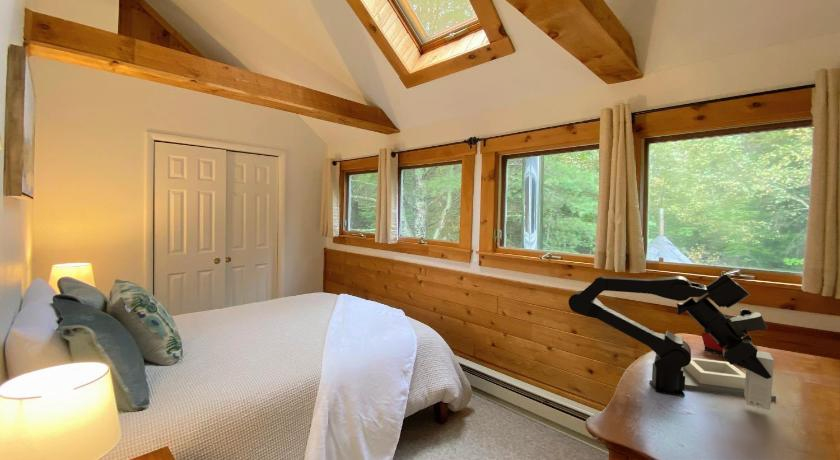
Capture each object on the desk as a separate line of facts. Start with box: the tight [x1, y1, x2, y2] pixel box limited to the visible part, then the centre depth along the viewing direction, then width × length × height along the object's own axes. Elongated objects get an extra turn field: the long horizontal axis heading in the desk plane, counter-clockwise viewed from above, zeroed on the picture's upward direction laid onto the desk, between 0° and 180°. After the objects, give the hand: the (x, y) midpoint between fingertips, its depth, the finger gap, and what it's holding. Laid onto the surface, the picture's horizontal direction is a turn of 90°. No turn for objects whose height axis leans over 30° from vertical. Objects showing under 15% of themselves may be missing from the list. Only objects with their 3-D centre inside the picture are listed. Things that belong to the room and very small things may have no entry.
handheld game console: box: [701, 331, 727, 356], centre depth 124 cm, size 12×11×7 cm
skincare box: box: [744, 350, 775, 411], centre depth 88 cm, size 6×4×12 cm
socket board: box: [681, 357, 777, 402], centre depth 104 cm, size 20×16×4 cm
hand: (766, 373), depth 87 cm, fingers closed on skincare box, 6 cm apart
